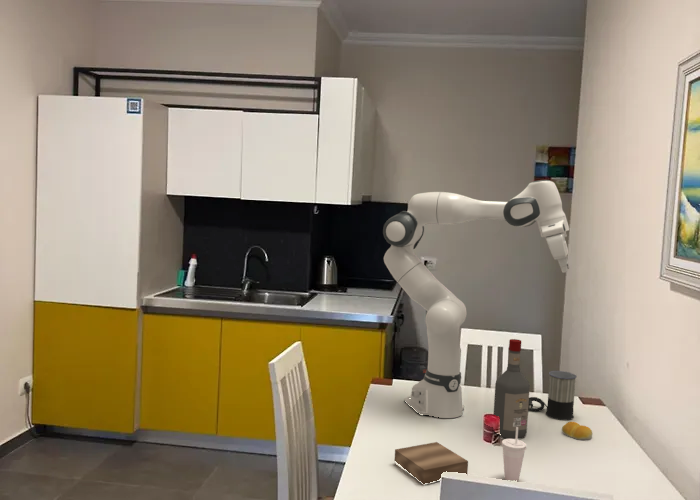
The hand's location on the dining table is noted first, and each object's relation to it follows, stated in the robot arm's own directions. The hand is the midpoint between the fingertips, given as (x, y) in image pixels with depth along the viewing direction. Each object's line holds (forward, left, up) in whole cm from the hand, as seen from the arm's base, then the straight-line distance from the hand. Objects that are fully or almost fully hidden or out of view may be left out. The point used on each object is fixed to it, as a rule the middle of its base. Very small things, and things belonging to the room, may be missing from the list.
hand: (566, 270), depth 197 cm
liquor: (-4, -16, -52) cm, 55 cm away
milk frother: (-14, +11, -52) cm, 55 cm away
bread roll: (+5, +4, -52) cm, 53 cm away
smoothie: (+21, -38, -52) cm, 68 cm away
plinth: (+8, -55, -52) cm, 76 cm away
